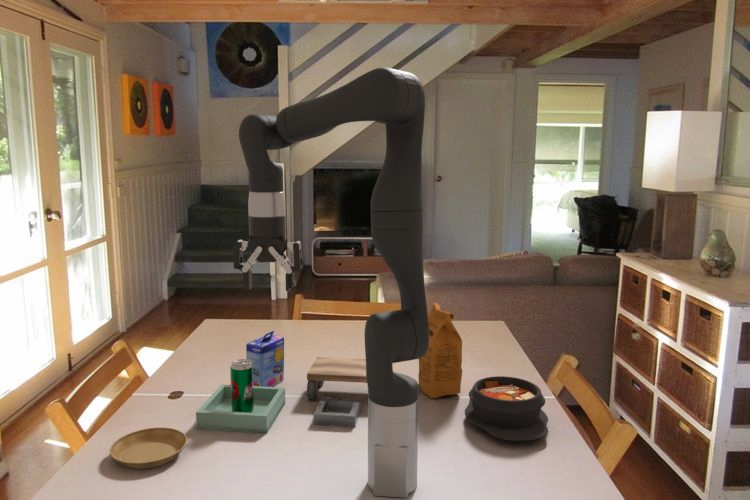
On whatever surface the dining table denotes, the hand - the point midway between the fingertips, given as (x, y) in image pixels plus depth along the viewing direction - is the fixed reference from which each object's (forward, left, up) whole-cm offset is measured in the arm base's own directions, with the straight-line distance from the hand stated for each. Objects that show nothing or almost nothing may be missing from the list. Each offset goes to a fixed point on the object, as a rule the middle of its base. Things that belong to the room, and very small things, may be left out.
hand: (269, 289), depth 132 cm
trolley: (+23, -13, -32) cm, 42 cm away
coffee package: (+28, -36, -32) cm, 56 cm away
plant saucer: (-13, +22, -33) cm, 41 cm away
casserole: (+11, -51, -32) cm, 62 cm away
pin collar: (+9, -13, -32) cm, 36 cm away
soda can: (+7, +9, -31) cm, 33 cm away
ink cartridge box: (+26, +9, -32) cm, 42 cm away
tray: (+7, +9, -32) cm, 34 cm away
